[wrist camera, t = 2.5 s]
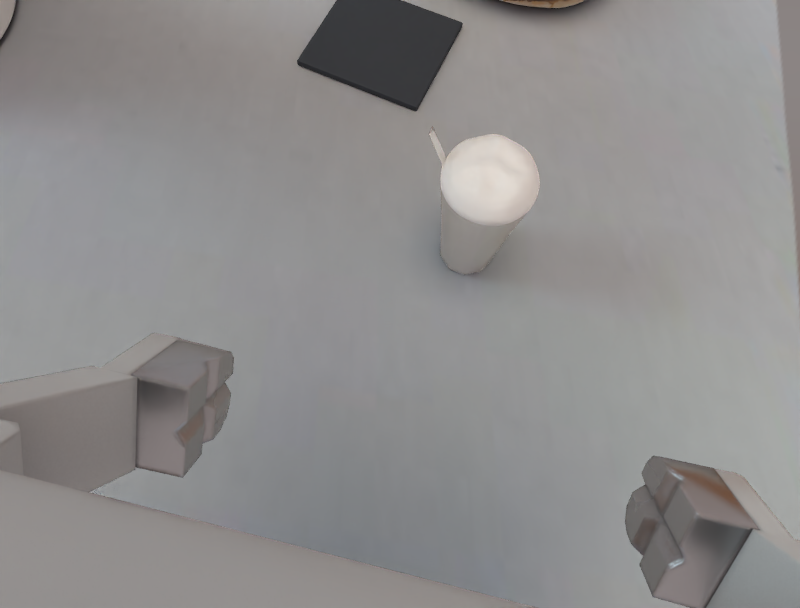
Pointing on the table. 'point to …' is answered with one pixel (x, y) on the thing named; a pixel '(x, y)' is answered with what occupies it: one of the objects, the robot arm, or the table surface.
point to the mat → (382, 48)
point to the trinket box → (545, 3)
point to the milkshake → (482, 198)
